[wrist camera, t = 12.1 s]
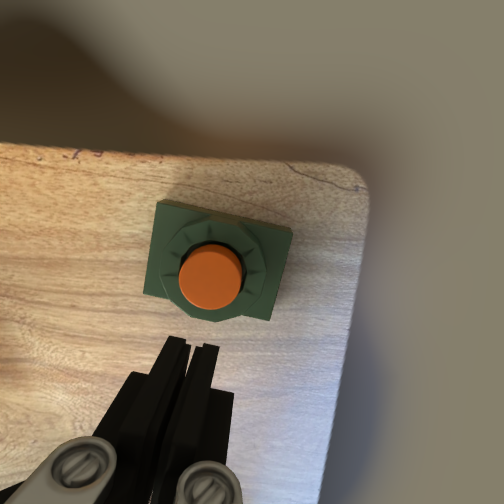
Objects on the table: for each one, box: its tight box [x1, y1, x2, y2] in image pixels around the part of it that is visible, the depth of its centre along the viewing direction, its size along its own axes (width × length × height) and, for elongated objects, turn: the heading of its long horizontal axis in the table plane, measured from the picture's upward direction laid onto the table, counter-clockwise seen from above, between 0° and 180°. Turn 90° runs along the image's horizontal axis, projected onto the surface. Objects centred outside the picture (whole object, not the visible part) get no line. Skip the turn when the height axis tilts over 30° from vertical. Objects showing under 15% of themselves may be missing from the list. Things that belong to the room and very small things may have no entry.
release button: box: [179, 244, 242, 310], centre depth 20 cm, size 4×4×2 cm
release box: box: [143, 199, 293, 322], centre depth 22 cm, size 9×6×4 cm
